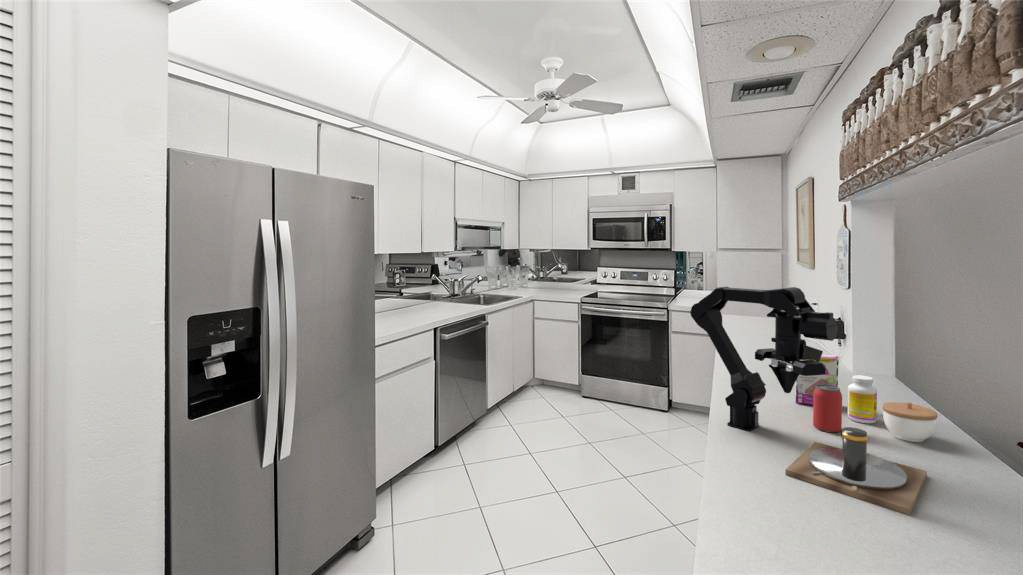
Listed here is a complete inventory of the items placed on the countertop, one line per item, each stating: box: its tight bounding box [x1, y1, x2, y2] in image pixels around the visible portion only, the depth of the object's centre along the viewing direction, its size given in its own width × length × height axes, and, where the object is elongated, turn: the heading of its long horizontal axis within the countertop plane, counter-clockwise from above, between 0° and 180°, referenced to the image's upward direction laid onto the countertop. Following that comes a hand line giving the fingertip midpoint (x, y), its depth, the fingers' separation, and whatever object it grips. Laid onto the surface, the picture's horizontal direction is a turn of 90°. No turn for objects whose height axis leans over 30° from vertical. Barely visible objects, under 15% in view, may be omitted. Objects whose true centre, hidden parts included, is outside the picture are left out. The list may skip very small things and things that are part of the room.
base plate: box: [785, 441, 928, 516], centre depth 96 cm, size 21×21×2 cm
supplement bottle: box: [847, 374, 878, 424], centre depth 126 cm, size 7×7×13 cm
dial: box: [809, 426, 907, 491], centre depth 96 cm, size 17×17×11 cm
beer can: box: [812, 384, 843, 433], centre depth 121 cm, size 7×7×12 cm
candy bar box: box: [795, 354, 840, 406], centre depth 140 cm, size 11×5×16 cm, turn 58°
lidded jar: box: [882, 401, 938, 443], centre depth 114 cm, size 11×11×9 cm
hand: (787, 392), depth 114 cm, fingers closed
